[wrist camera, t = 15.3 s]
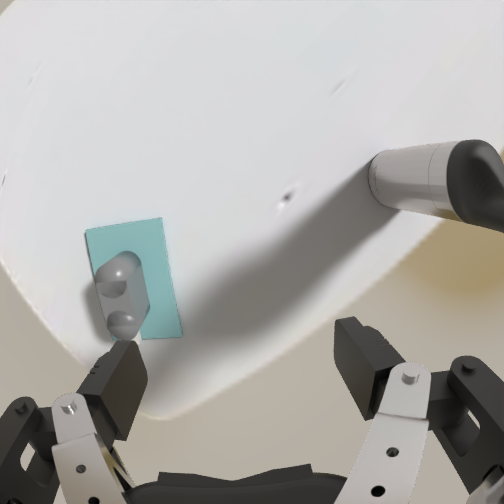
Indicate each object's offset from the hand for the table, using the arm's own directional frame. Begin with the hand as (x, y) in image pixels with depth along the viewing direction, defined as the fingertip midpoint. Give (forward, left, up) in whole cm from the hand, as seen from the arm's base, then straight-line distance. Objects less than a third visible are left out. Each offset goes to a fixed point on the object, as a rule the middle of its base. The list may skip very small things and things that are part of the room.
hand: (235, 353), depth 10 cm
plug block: (+15, +6, -28) cm, 32 cm away
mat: (+15, +6, -29) cm, 33 cm away
